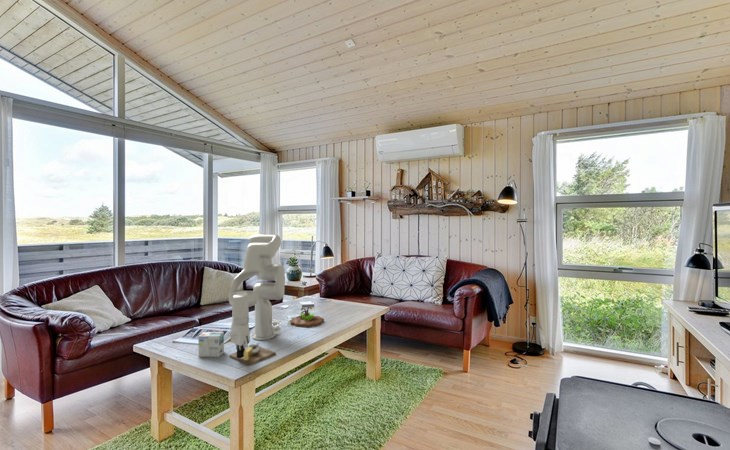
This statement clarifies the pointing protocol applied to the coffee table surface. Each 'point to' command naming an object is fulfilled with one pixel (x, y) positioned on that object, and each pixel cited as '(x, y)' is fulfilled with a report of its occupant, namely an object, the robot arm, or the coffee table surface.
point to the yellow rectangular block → (251, 351)
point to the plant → (307, 319)
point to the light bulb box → (211, 344)
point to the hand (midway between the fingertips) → (240, 357)
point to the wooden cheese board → (255, 358)
